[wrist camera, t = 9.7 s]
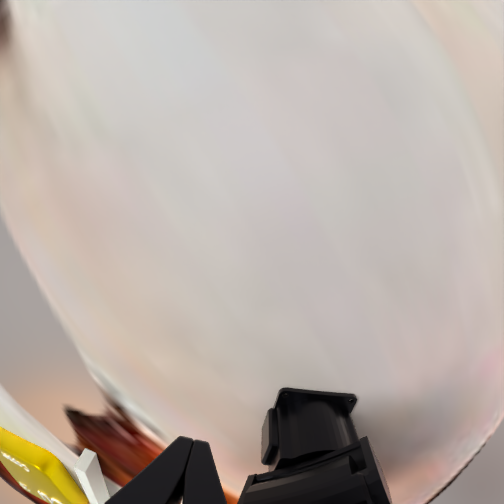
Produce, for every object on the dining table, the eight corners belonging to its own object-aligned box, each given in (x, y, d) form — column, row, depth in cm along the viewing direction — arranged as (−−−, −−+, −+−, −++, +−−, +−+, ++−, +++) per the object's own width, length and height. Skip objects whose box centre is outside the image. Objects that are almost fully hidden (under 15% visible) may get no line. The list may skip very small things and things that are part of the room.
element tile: (56, 451, 26) (42, 473, 21) (93, 503, 29) (84, 522, 24) (-5, 421, 27) (-20, 436, 22) (32, 475, 30) (22, 490, 25)
